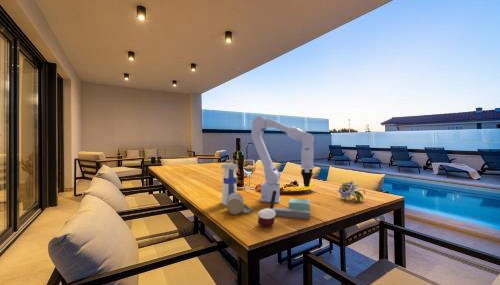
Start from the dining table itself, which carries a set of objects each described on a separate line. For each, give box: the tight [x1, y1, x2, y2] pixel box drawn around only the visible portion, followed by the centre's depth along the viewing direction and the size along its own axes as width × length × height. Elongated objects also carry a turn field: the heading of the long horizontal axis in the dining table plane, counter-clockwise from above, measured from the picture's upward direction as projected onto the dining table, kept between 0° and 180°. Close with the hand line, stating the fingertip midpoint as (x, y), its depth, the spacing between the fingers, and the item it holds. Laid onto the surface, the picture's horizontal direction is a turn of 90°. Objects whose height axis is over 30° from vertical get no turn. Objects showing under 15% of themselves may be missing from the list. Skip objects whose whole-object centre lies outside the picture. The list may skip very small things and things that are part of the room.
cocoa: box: [257, 191, 276, 228], centre depth 82 cm, size 10×6×12 cm, turn 113°
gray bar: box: [273, 207, 311, 220], centre depth 92 cm, size 15×2×2 cm, turn 76°
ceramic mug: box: [226, 192, 252, 216], centre depth 97 cm, size 11×8×8 cm
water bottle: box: [221, 152, 239, 206], centre depth 110 cm, size 8×8×25 cm
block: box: [288, 198, 311, 212], centre depth 102 cm, size 9×7×4 cm
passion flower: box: [336, 180, 366, 203], centre depth 119 cm, size 11×11×12 cm
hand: (306, 184), depth 110 cm, fingers open, 7 cm apart
